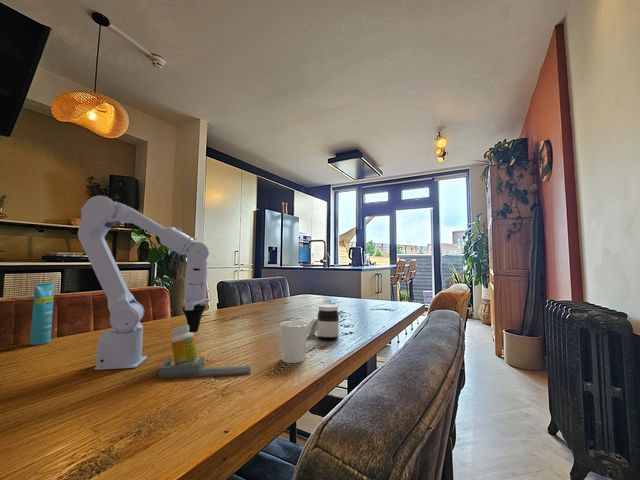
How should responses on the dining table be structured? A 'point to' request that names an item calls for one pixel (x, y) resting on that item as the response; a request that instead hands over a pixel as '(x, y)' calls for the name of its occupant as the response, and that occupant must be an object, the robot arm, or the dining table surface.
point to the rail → (197, 370)
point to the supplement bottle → (183, 346)
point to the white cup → (293, 341)
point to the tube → (42, 314)
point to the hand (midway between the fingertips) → (193, 331)
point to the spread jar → (325, 323)
